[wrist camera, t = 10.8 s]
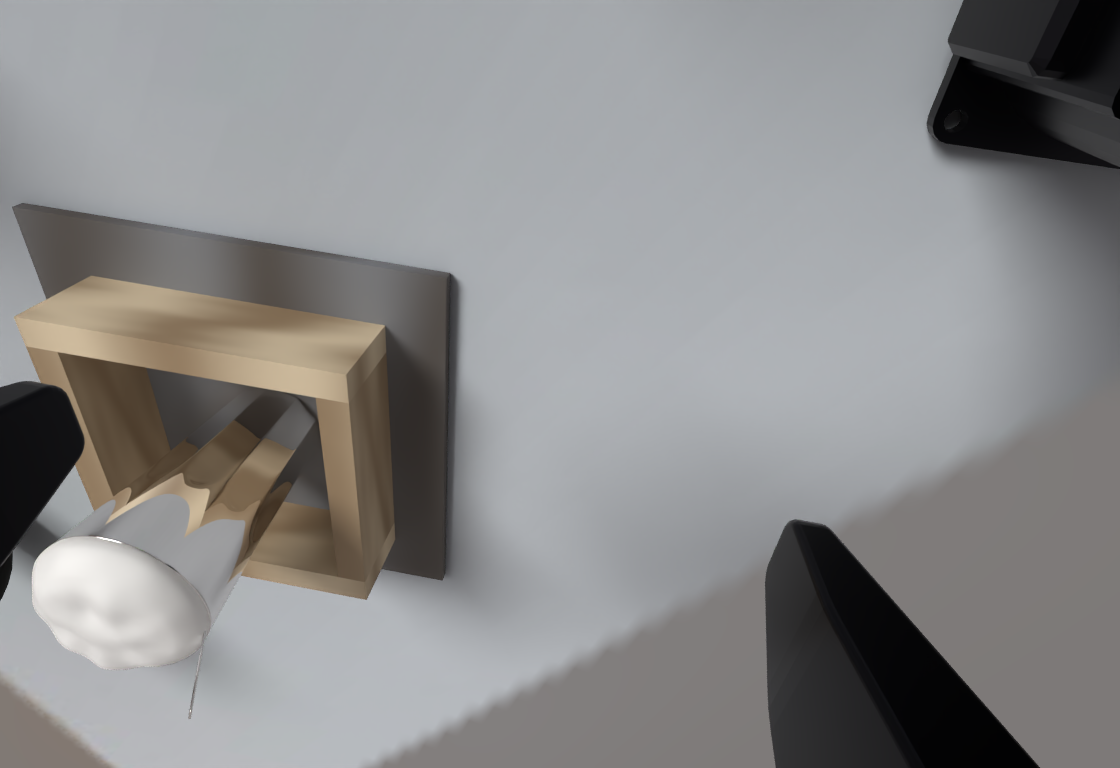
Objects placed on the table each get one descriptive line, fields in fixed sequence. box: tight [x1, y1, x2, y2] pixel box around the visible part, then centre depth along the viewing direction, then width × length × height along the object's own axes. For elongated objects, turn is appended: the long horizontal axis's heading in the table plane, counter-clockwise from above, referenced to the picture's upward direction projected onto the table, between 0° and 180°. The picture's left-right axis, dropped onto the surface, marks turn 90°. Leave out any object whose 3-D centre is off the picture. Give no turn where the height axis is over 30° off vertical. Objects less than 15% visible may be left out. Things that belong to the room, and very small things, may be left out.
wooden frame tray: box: [12, 203, 450, 600], centre depth 22 cm, size 14×14×3 cm
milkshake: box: [32, 388, 319, 719], centre depth 19 cm, size 5×5×10 cm
